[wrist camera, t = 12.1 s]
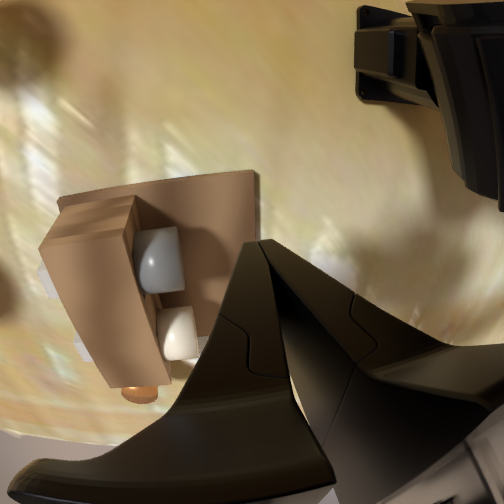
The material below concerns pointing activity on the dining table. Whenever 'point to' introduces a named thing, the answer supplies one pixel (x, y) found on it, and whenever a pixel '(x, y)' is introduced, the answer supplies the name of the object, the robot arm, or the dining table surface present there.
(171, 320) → the cream knob
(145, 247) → the graphite knob
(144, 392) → the copper domed knob
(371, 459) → the robot arm
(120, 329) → the walnut mount
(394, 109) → the dining table surface
